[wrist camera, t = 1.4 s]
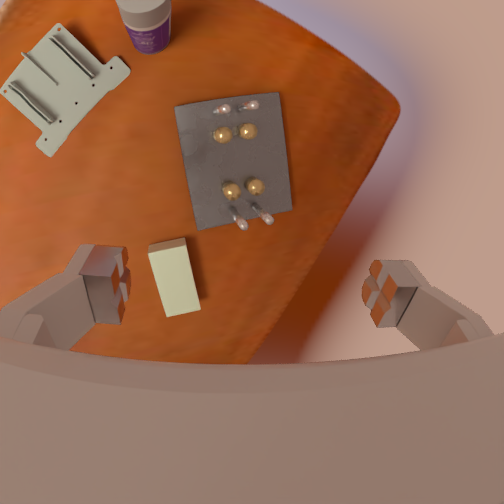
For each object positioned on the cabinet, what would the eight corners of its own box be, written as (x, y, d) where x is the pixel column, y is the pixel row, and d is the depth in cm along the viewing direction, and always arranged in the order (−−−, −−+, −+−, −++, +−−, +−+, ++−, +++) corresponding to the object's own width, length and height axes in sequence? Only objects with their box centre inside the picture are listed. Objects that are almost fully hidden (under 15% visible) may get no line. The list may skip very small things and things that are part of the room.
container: (137, 59, 30) (119, 22, 16) (129, 29, 27) (110, -20, 14) (174, 48, 30) (177, 4, 17) (166, 18, 28) (166, -37, 15)
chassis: (288, 207, 43) (310, 223, 36) (196, 226, 40) (202, 248, 34) (275, 93, 36) (297, 87, 29) (174, 107, 33) (174, 103, 27)
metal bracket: (-19, 102, 21) (65, 4, 19) (-4, 96, 25) (71, 11, 24) (54, 167, 31) (138, 77, 29) (60, 154, 35) (134, 75, 34)
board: (198, 297, 45) (200, 309, 42) (166, 304, 44) (166, 316, 41) (184, 236, 41) (186, 245, 38) (149, 244, 40) (147, 253, 37)
